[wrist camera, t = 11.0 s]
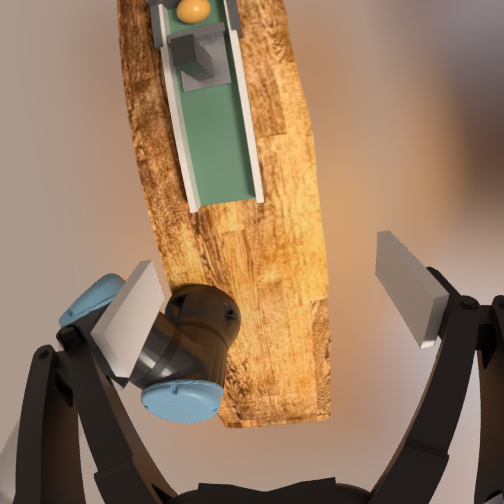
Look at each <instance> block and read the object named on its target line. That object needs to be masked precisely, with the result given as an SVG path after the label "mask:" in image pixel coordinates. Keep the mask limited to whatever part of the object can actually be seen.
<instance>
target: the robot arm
mask: <svg viewBox="0 0 504 504" xmlns="http://www.w3.org/2000/svg"><path fill="white" fill-rule="evenodd" d="M375 274H376V276H377V277H378V278H379V280H380V282H381V283H382V285H383V287H384V288H385V290H386V291H387V293H388V294H389V296H390V298H391V299H392V301H393V302H394V304H395V306H396V307H397V309H398V311H399V312H400V314H401V316H402V317H403V319H404V321H405V322H406V324H407V326H408V327H409V329H410V331H411V333H412V334H413V336H414V338H415V340H416V341H417V343H418V345H419V347H420V349H422V348H426V347H429V346H433V345H434V344H435V342H436V339H437V336H439V337H440V338H441V340H442V342H441V344H440V348H439V350H438V353H437V356H436V360H435V363H434V366H433V369H432V372H431V374H430V377H429V380H428V382H427V385H426V388H425V390H424V393H423V395H422V397H421V400H420V403H419V405H418V407H417V409H416V411H415V414H414V416H413V418H412V420H411V422H410V425H409V427H408V429H407V431H406V433H405V435H404V437H403V439H402V441H401V443H400V444H399V446H398V448H397V450H396V452H395V454H394V455H393V457H392V459H391V461H390V462H389V464H388V466H387V468H386V469H385V471H384V472H383V474H382V476H381V477H380V478H379V480H378V481H377V483H376V484H375V486H374V487H373V489H372V490H371V492H369V491H367V490H365V489H362V488H360V487H357V486H353V485H349V484H342V483H336V481H335V477H332V478H326V479H320V480H312V481H303V482H299V483H296V484H292V485H289V486H286V487H283V488H279V489H275V490H271V491H268V492H262V491H257V490H252V489H248V488H243V487H239V486H234V485H228V484H207V483H199V485H198V490H193V491H188V492H185V493H183V494H180V495H178V494H177V493H176V492H175V491H174V490H173V489H172V488H171V487H170V486H169V484H168V483H167V482H166V480H165V479H164V477H163V476H162V474H161V473H160V471H159V469H158V468H157V466H156V465H155V463H154V461H153V460H152V458H151V457H150V455H149V453H148V451H147V450H146V448H145V446H144V444H143V443H142V441H141V439H140V437H139V435H138V434H137V432H136V430H135V428H134V426H133V424H132V422H131V420H130V418H129V416H128V414H127V412H126V410H125V408H124V406H123V404H122V402H121V400H120V397H119V395H118V393H117V391H122V390H123V389H124V388H125V386H126V385H127V383H128V382H129V381H130V382H131V383H133V384H134V385H136V386H137V387H138V388H140V389H141V390H142V392H141V402H142V404H143V405H144V407H145V408H146V409H147V410H148V411H149V412H151V413H152V414H154V415H156V416H157V417H160V418H162V419H166V420H169V421H174V422H180V423H196V422H201V421H205V420H208V419H210V418H211V417H213V416H214V415H215V414H216V413H217V412H218V410H219V408H220V404H221V399H222V396H223V394H224V381H225V372H226V363H227V353H228V350H229V348H230V347H231V345H232V343H233V342H234V340H235V339H236V337H237V336H238V333H239V330H240V324H241V315H240V311H239V308H238V306H237V305H236V303H235V302H234V300H233V299H232V298H231V297H230V296H228V295H227V294H226V293H224V292H223V291H221V290H219V289H216V288H214V287H210V286H206V285H191V286H186V287H183V288H181V289H179V290H178V291H176V292H175V293H174V294H173V295H172V296H171V298H170V299H169V302H168V304H167V306H166V309H165V314H163V313H161V312H160V311H159V310H160V308H161V306H162V304H163V302H164V300H165V297H164V294H163V291H162V289H161V286H160V283H159V280H158V277H157V274H156V271H155V268H154V265H153V262H152V260H149V261H141V262H140V263H139V265H138V266H137V268H136V269H135V270H134V271H133V273H132V274H131V275H130V277H129V278H128V280H127V281H125V280H123V279H122V278H121V277H120V276H118V275H117V274H107V275H105V276H103V277H102V278H100V279H99V280H98V281H97V282H95V283H94V284H93V285H92V286H91V287H90V288H89V289H88V290H86V291H85V292H84V293H83V294H82V295H81V296H80V297H79V298H78V299H77V300H76V301H75V302H74V303H73V304H72V305H71V307H69V308H68V310H67V311H66V312H65V313H64V314H63V315H62V316H61V317H60V319H59V324H60V326H61V329H60V330H59V331H58V333H57V335H56V338H57V340H58V347H59V352H55V350H54V349H53V347H52V346H51V345H44V346H41V347H40V348H38V349H37V351H36V352H35V353H34V355H33V359H32V363H31V367H30V371H29V375H28V379H27V384H26V389H25V394H24V399H23V405H22V411H21V416H20V418H19V420H18V421H17V423H16V425H15V427H14V429H13V431H12V432H11V434H10V436H9V438H8V440H7V442H6V444H5V446H4V448H3V450H2V452H1V454H0V504H86V501H85V495H84V488H83V480H82V472H81V461H80V449H79V440H80V438H81V436H82V434H83V433H85V436H86V439H87V442H88V445H89V448H90V451H91V453H92V456H93V459H94V461H95V464H96V466H97V469H98V472H97V473H94V479H95V482H96V484H97V487H98V489H99V491H100V494H101V496H102V498H103V500H104V502H105V504H429V502H430V500H431V498H432V496H433V494H434V492H435V490H436V488H437V486H438V484H439V482H440V480H441V477H442V475H443V472H444V470H445V468H446V465H447V463H448V460H449V455H448V454H447V453H448V449H449V446H450V443H451V441H452V438H453V435H454V432H455V429H456V426H457V423H458V420H459V417H460V413H461V410H462V407H463V403H464V399H465V395H466V392H467V387H468V383H469V379H470V374H471V370H472V364H473V359H474V354H475V350H477V357H478V367H479V378H480V398H481V432H480V450H479V462H478V471H477V478H476V486H475V494H474V504H504V296H503V295H498V296H496V297H494V299H493V302H492V305H480V304H479V302H478V301H477V300H476V299H474V298H472V297H470V296H464V295H462V296H461V295H460V294H459V293H458V292H457V290H456V289H455V288H454V287H453V286H452V285H451V284H450V283H449V282H448V281H447V280H446V279H445V278H444V276H443V275H442V274H441V273H440V272H439V271H438V270H436V269H434V268H432V267H424V265H422V263H421V262H420V261H419V260H418V259H417V258H416V257H415V256H414V255H413V254H412V253H411V252H410V251H409V250H408V249H407V248H406V247H405V246H404V245H403V244H402V243H401V242H400V241H399V240H398V239H397V238H396V237H395V236H394V235H393V234H392V233H391V232H390V231H382V232H377V256H376V272H375Z"/></svg>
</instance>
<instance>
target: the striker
mask: <svg viewBox="0 0 504 504" xmlns="http://www.w3.org/2000/svg"><path fill="white" fill-rule="evenodd" d="M224 38H228V36H227V31H226V27H225V25H224V22H221V23H216V24H211V25H206V26H202V27H197V28H193V29H189V30H185V31H181V32H177V33H174V34H170V35H168V42H169V44H170V45H171V49H172V56H173V63H174V67H176V68H177V69H179V70H181V77H182V83H183V89H184V92H185V93H187V92H191V91H196V90H200V89H205V88H210V87H215V86H220V85H226V84H231V83H232V80H231V74H230V68H229V62H228V57H227V51H226V45H225V39H224Z"/></svg>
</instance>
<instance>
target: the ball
mask: <svg viewBox="0 0 504 504" xmlns="http://www.w3.org/2000/svg"><path fill="white" fill-rule="evenodd" d="M176 12H177V16H178V18H179V19H180V20H181V21H182V22H184V23H187V24H197V23H200V22H202V21H204V20H205V19H206V18H207V17H208V16H209V14H210V12H211V5H210V3H209V1H208V0H182V1H181V2H180V3H179V4H178V6H177V10H176Z"/></svg>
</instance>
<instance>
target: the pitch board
mask: <svg viewBox="0 0 504 504" xmlns="http://www.w3.org/2000/svg"><path fill="white" fill-rule="evenodd" d="M208 1H209V3H210V5H211V12H210V14H209V16H208V17H207V18H206V19H205V20H204V21H202V22H200V23H197V24H187V23H184V22H182V21H181V20H180V19H179V18H178V16H177V12H176V10H177V7H176V8H173V9H169V10H167V9H166V8H165V7H164V6H163V5H162V4H160V5H159V13H160V22H161V30H162V38H163V45H164V47H161V55H162V62H163V69H164V76H165V82H166V89H167V95H168V101H169V107H170V113H171V118H172V124H173V129H174V135H175V140H176V145H177V151H178V156H179V161H180V166H181V170H182V175H183V180H184V185H185V189H186V194H187V199H188V203H189V208H190V212H191V213H193V212H197V211H198V210H199V208H200V207H201V206H205V205H212V204H218V203H225V202H231V201H238V200H245V199H253V198H256V200H257V203H262V202H264V195H263V188H262V181H261V174H260V167H259V161H258V154H257V147H256V141H255V134H254V128H253V122H252V115H251V109H250V103H249V97H248V91H247V85H246V79H245V73H244V67H243V61H242V55H241V49H240V44H239V38H238V35H237V31H236V30H234V31H233V30H232V25H231V19H230V14H229V8H228V3H227V0H208ZM221 22H224V25H225V27H226V31H227V36H228V38H224V39H225V45H226V51H227V57H228V62H229V68H230V74H231V80H232V83H231V84H226V85H220V86H215V87H210V88H205V89H200V90H196V91H191V92H187V93H185V92H184V89H183V83H182V77H181V70H179V69H177V68H176V67H174V63H173V56H172V49H171V45H170V44H169V42H168V35H170V34H174V33H177V32H181V31H185V30H189V29H193V28H197V27H202V26H206V25H211V24H216V23H221Z"/></svg>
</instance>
